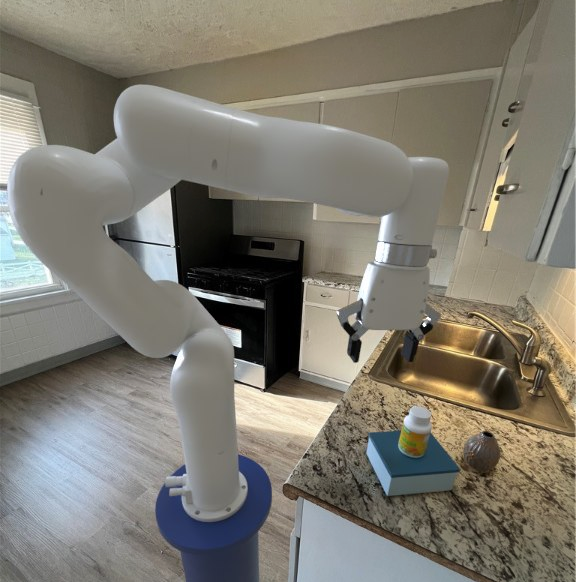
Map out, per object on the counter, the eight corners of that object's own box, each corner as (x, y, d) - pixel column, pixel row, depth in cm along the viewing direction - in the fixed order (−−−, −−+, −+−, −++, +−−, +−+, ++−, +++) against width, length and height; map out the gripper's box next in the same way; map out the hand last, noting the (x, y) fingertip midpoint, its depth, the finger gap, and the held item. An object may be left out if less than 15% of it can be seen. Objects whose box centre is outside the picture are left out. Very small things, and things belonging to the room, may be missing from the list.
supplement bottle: (392, 447, 67) (401, 410, 63) (406, 437, 70) (415, 400, 66) (416, 462, 63) (426, 423, 59) (429, 450, 66) (440, 413, 62)
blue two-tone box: (386, 497, 62) (391, 475, 60) (365, 452, 74) (368, 432, 71) (453, 490, 64) (460, 469, 62) (422, 448, 75) (427, 428, 73)
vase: (474, 450, 75) (484, 421, 71) (501, 471, 69) (514, 440, 66) (453, 458, 73) (463, 428, 69) (479, 480, 67) (492, 448, 63)
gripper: (440, 254, 51) (416, 349, 58) (338, 249, 48) (325, 349, 56) (470, 262, 44) (438, 368, 52) (353, 257, 42) (337, 370, 49)
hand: (380, 358), depth 54 cm, fingers open, 9 cm apart
